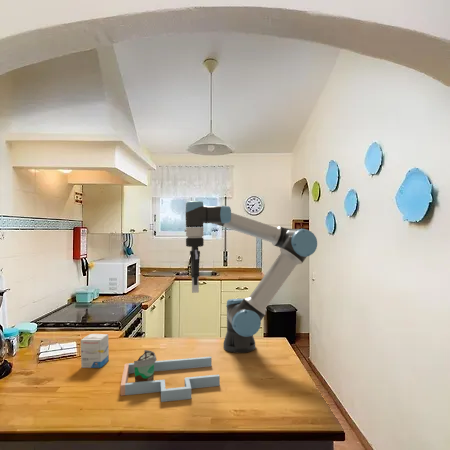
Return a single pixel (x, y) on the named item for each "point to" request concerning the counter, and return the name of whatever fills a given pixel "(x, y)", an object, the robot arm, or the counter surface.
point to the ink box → (94, 351)
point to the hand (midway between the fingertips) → (195, 292)
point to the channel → (159, 385)
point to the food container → (145, 367)
